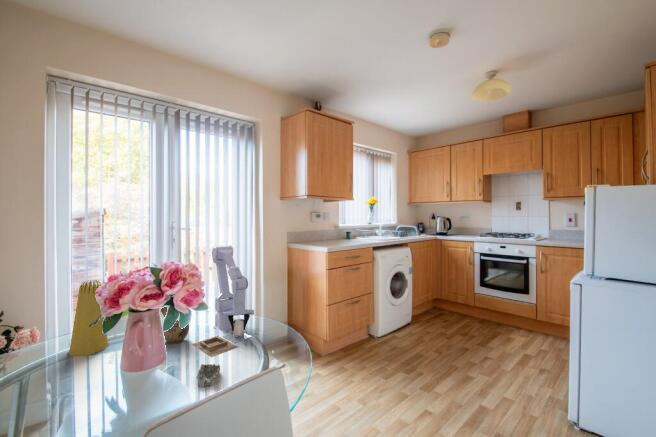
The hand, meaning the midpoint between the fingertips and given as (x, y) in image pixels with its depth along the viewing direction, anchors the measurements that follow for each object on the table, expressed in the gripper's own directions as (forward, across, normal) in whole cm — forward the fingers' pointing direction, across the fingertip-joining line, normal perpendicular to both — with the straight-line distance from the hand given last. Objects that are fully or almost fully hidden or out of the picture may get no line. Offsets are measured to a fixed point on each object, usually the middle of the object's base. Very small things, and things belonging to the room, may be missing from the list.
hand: (238, 329), depth 144 cm
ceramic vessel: (+4, -28, +3) cm, 29 cm away
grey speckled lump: (+4, -12, -34) cm, 37 cm away
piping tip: (+4, -63, +6) cm, 63 cm away
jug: (+2, 0, -2) cm, 3 cm away
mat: (+4, 0, 0) cm, 4 cm away
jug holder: (+4, -11, -7) cm, 14 cm away
